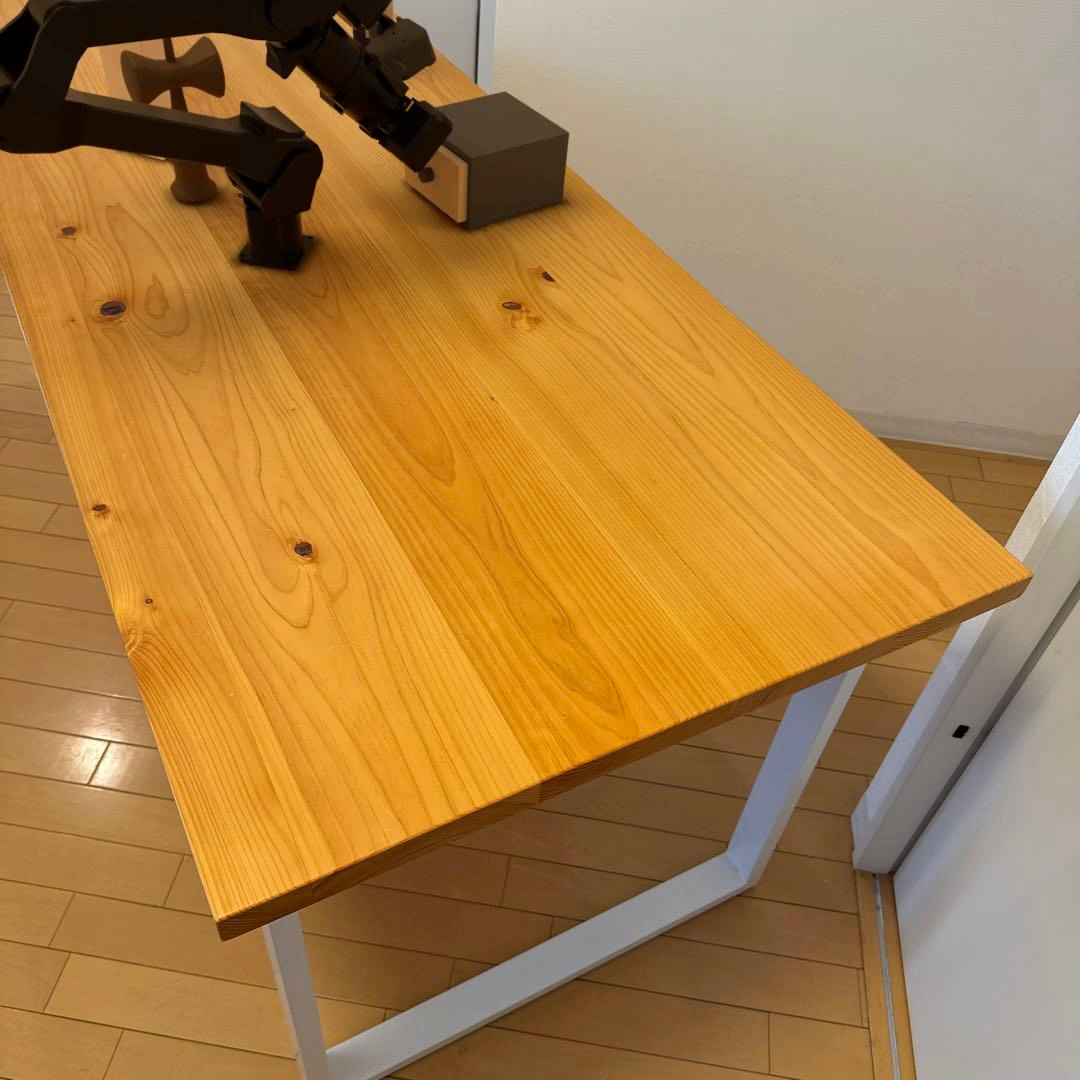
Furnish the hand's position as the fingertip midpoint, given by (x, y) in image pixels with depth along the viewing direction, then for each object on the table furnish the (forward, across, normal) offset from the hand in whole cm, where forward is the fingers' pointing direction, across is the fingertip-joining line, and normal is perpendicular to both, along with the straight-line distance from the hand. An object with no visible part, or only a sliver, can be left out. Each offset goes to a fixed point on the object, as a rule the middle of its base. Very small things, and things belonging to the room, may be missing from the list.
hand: (428, 153), depth 113 cm
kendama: (-10, +16, +21) cm, 28 cm away
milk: (-9, +29, +20) cm, 36 cm away
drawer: (+8, 0, 0) cm, 8 cm away
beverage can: (+16, +39, -7) cm, 42 cm away
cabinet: (+10, 0, -2) cm, 11 cm away
